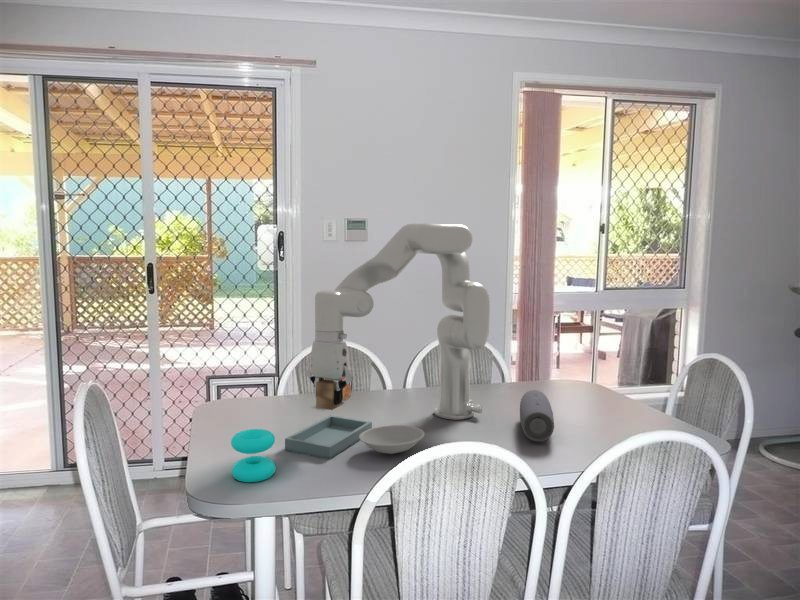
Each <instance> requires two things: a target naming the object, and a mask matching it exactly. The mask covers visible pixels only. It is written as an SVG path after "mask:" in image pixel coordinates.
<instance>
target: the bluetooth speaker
mask: <svg viewBox="0 0 800 600" xmlns="http://www.w3.org/2000/svg"><path fill="white" fill-rule="evenodd" d="M519 421H520V425H521V428H522V431H523V433H524V435H525V436H526V437H527V438H528V439H530V440H531V441H534V442H543V441H546V440H549V439H550V437H551V436H552V435H553V432H554V430H555V419H554V412H553V408H552V405H551V404H550V401H549V399H548V397H547V395H545V393H543V392H542V391H541V390H537V389H532V390H528V391H526V392H525V393H524V394H523V396H522V397H521V399H520V404H519Z"/></svg>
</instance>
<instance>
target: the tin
mask: <svg viewBox="0 0 800 600" xmlns="http://www.w3.org/2000/svg"><path fill="white" fill-rule="evenodd" d="M345 379H346V377H343V381H344V380H345ZM352 391H353V380H352V381H351V382H350V383H348V384H347V385H346V386H345V388H344V389H343V400H342V404H344V403H345V402H346V401H347V400H348V399H349V398H350V397H351V395H352V393H353V392H352ZM348 397H349V398H348ZM347 398H348V399H347ZM346 399H347V400H346ZM345 400H346V401H345ZM344 401H345V402H344ZM343 402H344V403H343Z"/></svg>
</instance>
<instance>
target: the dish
mask: <svg viewBox="0 0 800 600" xmlns="http://www.w3.org/2000/svg"><path fill="white" fill-rule="evenodd" d="M425 435H426V433H425V431H424V430H423V429H422V428H419V427H417V426H411V425H404V424H403V425H402V424H395V425H394V424H392V425H391V424H388V425H380V426H376V427H375V426H374V427H372V428H371V429H368V430H366V431H364V432H362V433H361V434H360V435H359V439H360V442H362V443H364V444H365V445H366V447H368V448H369V449H371V450H373V451H375V452H378V453H382V454H389V455H395V454H398V453H402V452H406V451H408V450H410V449H411V448H413V447H414V446H415V445H416V444H418V443H419V441H420V440H422V439H423V438H424V437H425Z"/></svg>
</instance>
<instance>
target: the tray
mask: <svg viewBox="0 0 800 600" xmlns="http://www.w3.org/2000/svg"><path fill="white" fill-rule="evenodd" d="M371 428H373V422H372V421H367V420H361V419H356V418H355V419H354V418H349V417H344V416H337V415H331V414H330V415H328V416H326V417H324V418H322V419H320V420H318V421H316V422H314V423H312V424H310V425H309V426H307V427H305V428H302V429H300V430H299V431H297V432H295V433H293V434H291V435H289V436H287V437H285V438H284V450H285V452H286V451H287V452H290V453H291V452H293V453H295V454H303V455H306V456H309V457H310V456H311V457H315V458H321V459H326V460H332V459H333V458H335V457H336V456H338V455H340V454H341V453H343V452H345V451H347V450H348V449H349V448H350V447H352V446H353V445H355V444H357V443H359V442H361V440H360V439H359V435H360V434H361V433H362V432H364V431H366V430H368V429H371Z"/></svg>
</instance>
